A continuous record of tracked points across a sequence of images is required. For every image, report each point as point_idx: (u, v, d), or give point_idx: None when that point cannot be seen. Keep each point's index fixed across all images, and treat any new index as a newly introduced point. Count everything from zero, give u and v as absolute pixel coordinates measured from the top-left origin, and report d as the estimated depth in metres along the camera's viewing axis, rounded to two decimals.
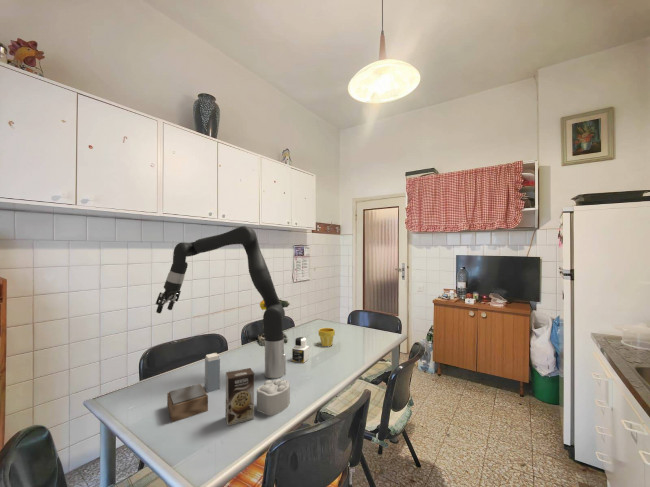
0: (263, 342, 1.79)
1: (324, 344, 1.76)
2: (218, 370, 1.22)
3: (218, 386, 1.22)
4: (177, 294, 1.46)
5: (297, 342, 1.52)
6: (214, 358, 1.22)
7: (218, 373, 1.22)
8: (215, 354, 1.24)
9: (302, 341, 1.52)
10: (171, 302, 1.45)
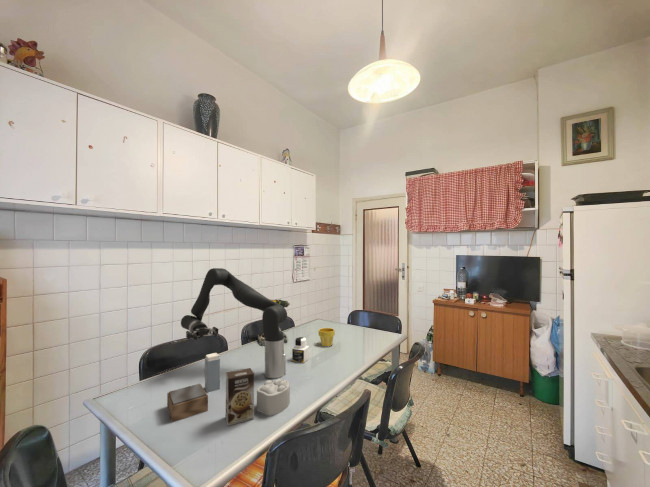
0: (263, 342, 1.79)
1: (324, 344, 1.76)
2: (218, 370, 1.22)
3: (218, 386, 1.22)
4: (213, 329, 1.42)
5: (297, 342, 1.52)
6: (214, 358, 1.22)
7: (218, 373, 1.22)
8: (215, 354, 1.24)
9: (302, 341, 1.52)
10: (212, 333, 1.38)
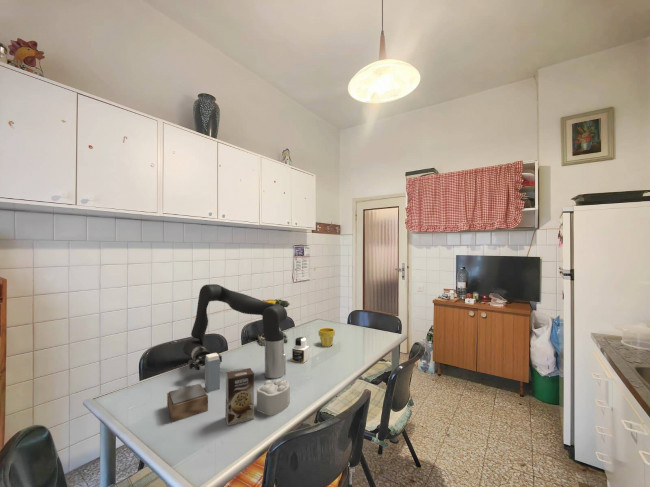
0: (263, 342, 1.79)
1: (324, 344, 1.76)
2: (218, 370, 1.22)
3: (218, 386, 1.22)
4: None
5: (297, 342, 1.52)
6: (214, 358, 1.22)
7: (218, 373, 1.22)
8: (215, 354, 1.24)
9: (302, 341, 1.52)
10: None
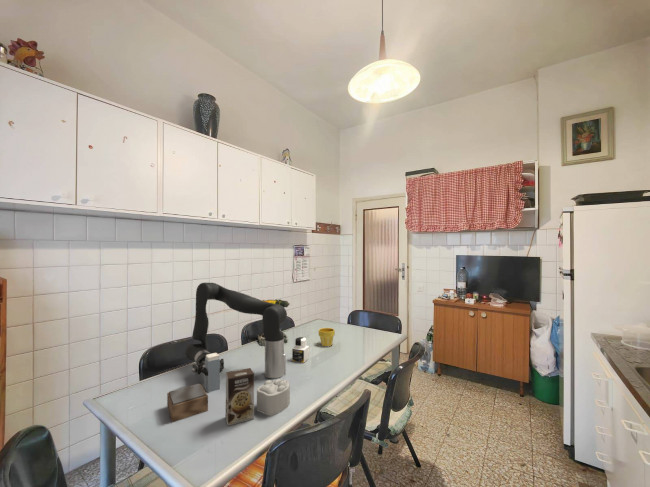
0: (263, 342, 1.79)
1: (324, 344, 1.76)
2: (218, 370, 1.22)
3: (218, 386, 1.22)
4: (220, 361, 1.31)
5: (297, 342, 1.52)
6: (214, 358, 1.22)
7: (218, 373, 1.22)
8: (215, 354, 1.24)
9: (302, 341, 1.52)
10: None
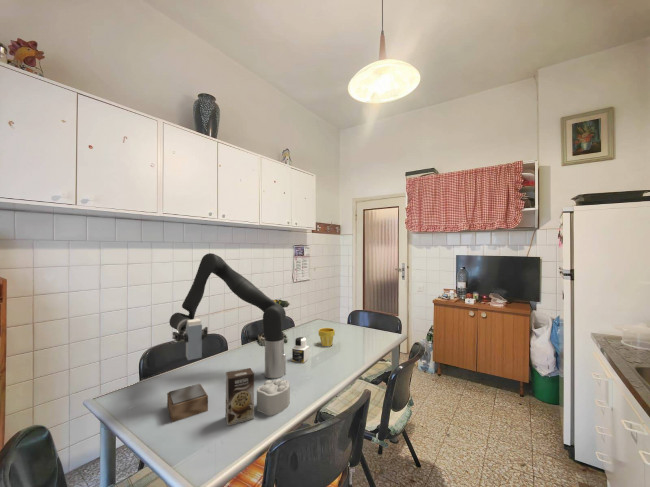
0: (263, 342, 1.79)
1: (324, 344, 1.76)
2: (200, 337, 1.11)
3: (200, 354, 1.11)
4: None
5: (297, 342, 1.52)
6: (195, 323, 1.11)
7: (200, 340, 1.11)
8: (197, 320, 1.13)
9: (302, 341, 1.52)
10: None
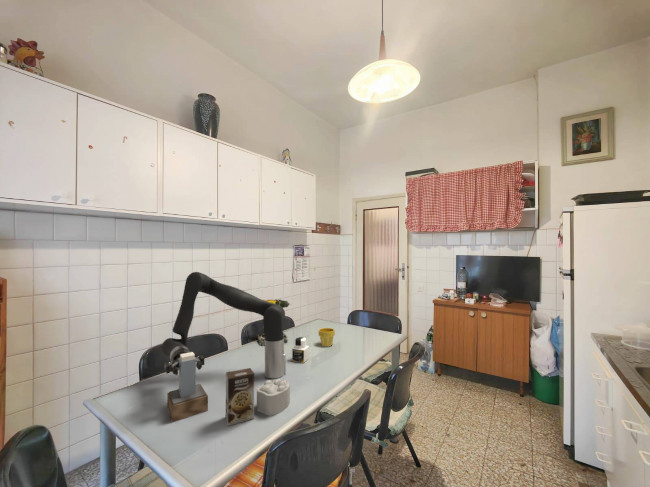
0: (263, 342, 1.79)
1: (324, 344, 1.76)
2: (194, 372, 1.06)
3: (194, 390, 1.06)
4: (199, 358, 1.16)
5: (297, 342, 1.52)
6: (189, 358, 1.06)
7: (194, 375, 1.06)
8: (191, 353, 1.08)
9: (302, 341, 1.52)
10: (196, 364, 1.11)
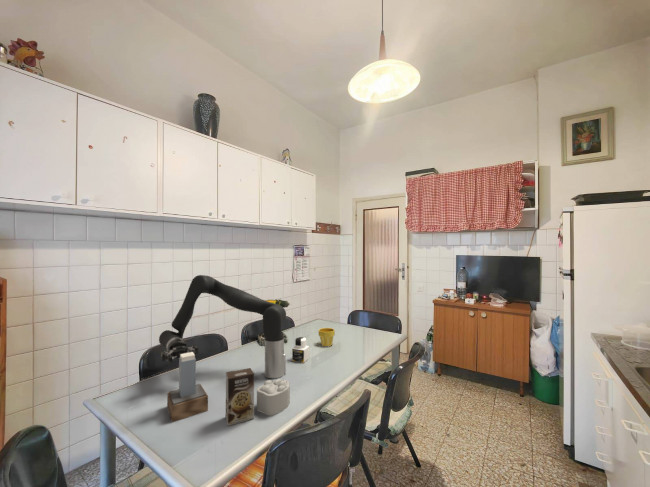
0: (263, 342, 1.79)
1: (324, 344, 1.76)
2: (194, 372, 1.06)
3: (194, 390, 1.06)
4: (193, 347, 1.27)
5: (297, 342, 1.52)
6: (189, 358, 1.06)
7: (194, 375, 1.06)
8: (191, 353, 1.08)
9: (302, 341, 1.52)
10: None
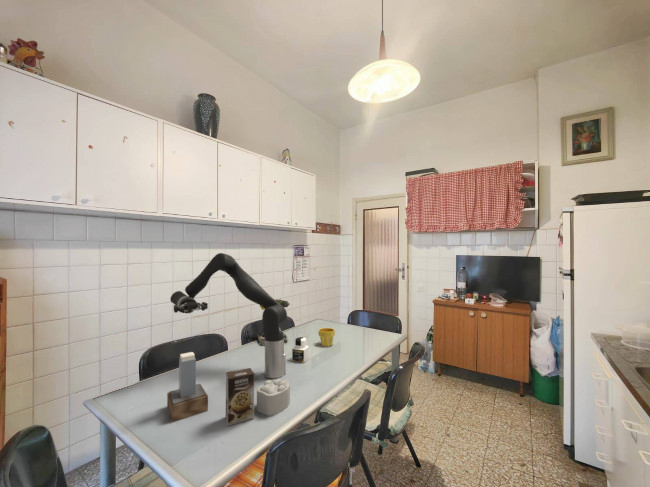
0: (263, 342, 1.79)
1: (324, 344, 1.76)
2: (194, 372, 1.06)
3: (194, 390, 1.06)
4: (203, 304, 1.37)
5: (297, 342, 1.52)
6: (189, 358, 1.06)
7: (194, 375, 1.06)
8: (191, 353, 1.08)
9: (302, 341, 1.52)
10: (201, 307, 1.32)
